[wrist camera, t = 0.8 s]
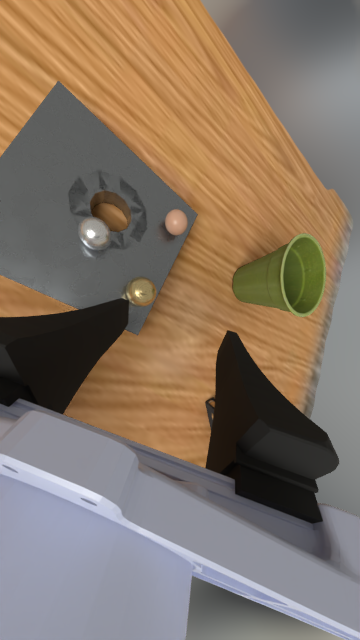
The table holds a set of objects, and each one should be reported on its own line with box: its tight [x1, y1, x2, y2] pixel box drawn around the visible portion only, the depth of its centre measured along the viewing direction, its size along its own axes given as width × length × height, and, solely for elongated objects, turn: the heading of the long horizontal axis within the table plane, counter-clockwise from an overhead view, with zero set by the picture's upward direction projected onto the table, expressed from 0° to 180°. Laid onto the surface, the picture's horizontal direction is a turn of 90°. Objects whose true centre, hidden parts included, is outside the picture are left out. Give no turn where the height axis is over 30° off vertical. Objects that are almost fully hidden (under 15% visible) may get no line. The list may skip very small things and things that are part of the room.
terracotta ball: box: [165, 209, 188, 235], centre depth 22 cm, size 3×3×3 cm
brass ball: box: [126, 276, 156, 307], centre depth 20 cm, size 4×4×4 cm
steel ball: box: [78, 217, 112, 250], centre depth 18 cm, size 3×3×3 cm
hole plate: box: [0, 81, 198, 335], centre depth 21 cm, size 20×19×2 cm
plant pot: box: [233, 233, 326, 317], centre depth 29 cm, size 12×12×11 cm
